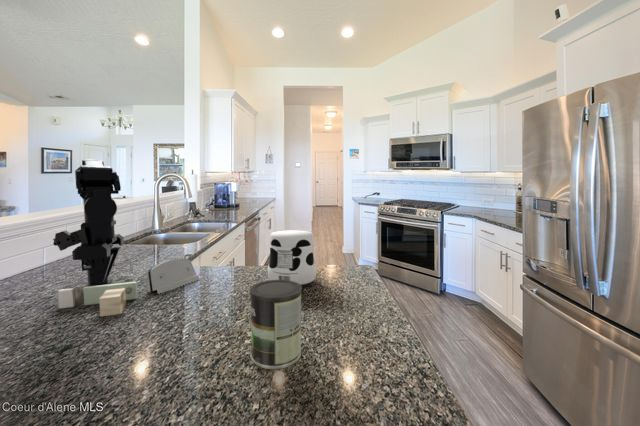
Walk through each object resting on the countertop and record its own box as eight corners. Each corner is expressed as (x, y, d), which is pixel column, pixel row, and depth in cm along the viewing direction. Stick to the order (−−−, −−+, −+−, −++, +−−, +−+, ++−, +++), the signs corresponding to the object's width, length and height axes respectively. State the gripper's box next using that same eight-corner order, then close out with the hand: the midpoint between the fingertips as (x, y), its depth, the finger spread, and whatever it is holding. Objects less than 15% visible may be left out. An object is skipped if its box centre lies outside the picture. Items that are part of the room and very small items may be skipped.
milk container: (305, 273, 117) (305, 228, 115) (324, 286, 101) (324, 235, 100) (262, 279, 109) (261, 231, 108) (276, 294, 94) (275, 239, 92)
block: (107, 307, 84) (106, 290, 83) (126, 304, 86) (125, 288, 85) (100, 317, 77) (99, 298, 77) (120, 314, 79) (119, 296, 79)
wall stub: (61, 306, 84) (60, 289, 83) (75, 304, 85) (74, 287, 85) (59, 308, 82) (57, 291, 82) (73, 306, 84) (72, 289, 83)
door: (85, 303, 86) (84, 286, 86) (137, 297, 91) (136, 281, 91) (82, 306, 84) (81, 289, 83) (136, 300, 89) (135, 283, 88)
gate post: (76, 304, 85) (75, 286, 85) (84, 303, 86) (82, 285, 86) (74, 306, 84) (72, 288, 83) (81, 305, 84) (80, 287, 84)
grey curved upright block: (157, 294, 94) (149, 264, 94) (149, 296, 96) (141, 267, 96) (200, 279, 108) (193, 253, 109) (192, 282, 111) (185, 256, 111)
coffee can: (247, 371, 55) (245, 297, 53) (254, 342, 65) (253, 280, 64) (302, 368, 55) (302, 296, 54) (301, 340, 66) (301, 278, 64)
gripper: (72, 215, 77) (76, 273, 79) (38, 223, 60) (44, 297, 61) (122, 214, 82) (125, 268, 83) (104, 220, 65) (108, 289, 66)
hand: (103, 279), depth 73 cm, fingers open, 4 cm apart
